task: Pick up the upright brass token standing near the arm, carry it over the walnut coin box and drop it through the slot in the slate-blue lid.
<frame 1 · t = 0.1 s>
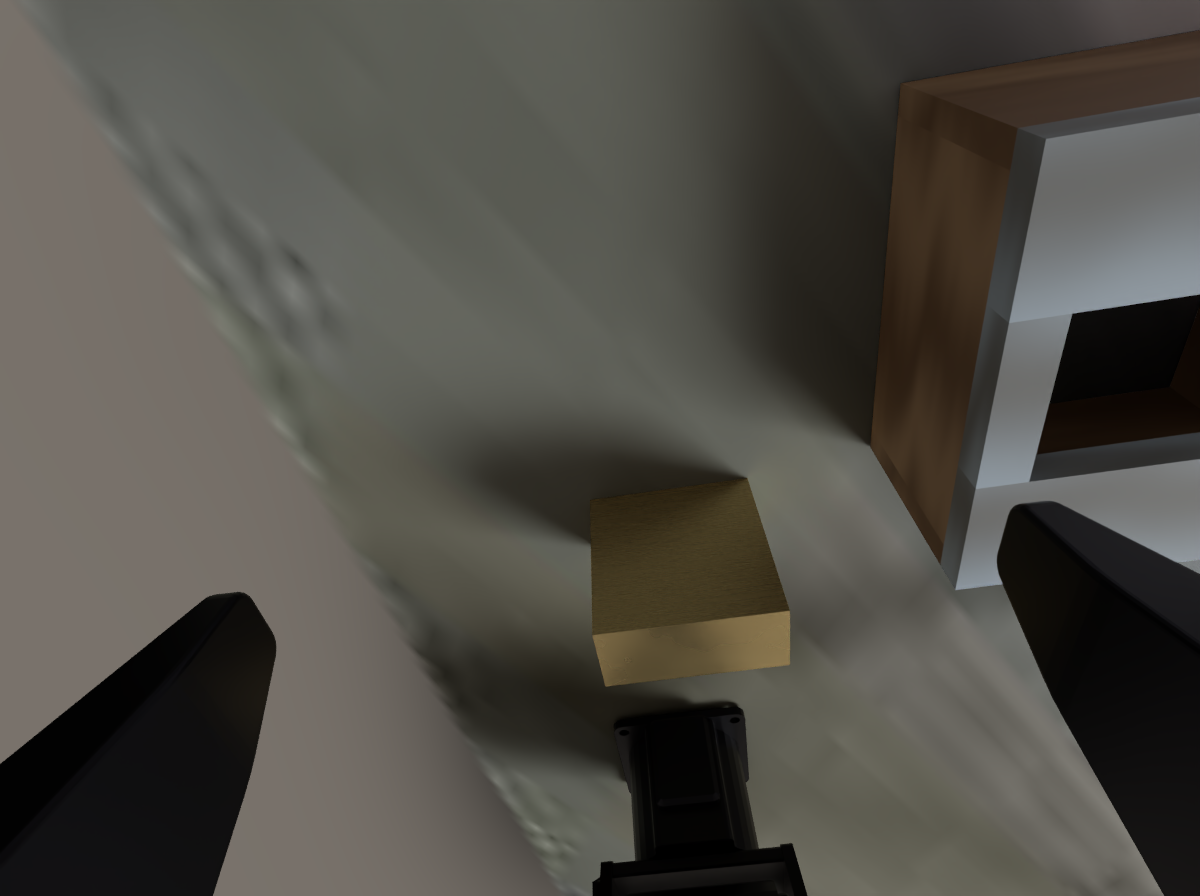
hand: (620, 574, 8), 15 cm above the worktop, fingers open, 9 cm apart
token: (671, 514, 27), on the worktop
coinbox: (1063, 265, 21), on the worktop
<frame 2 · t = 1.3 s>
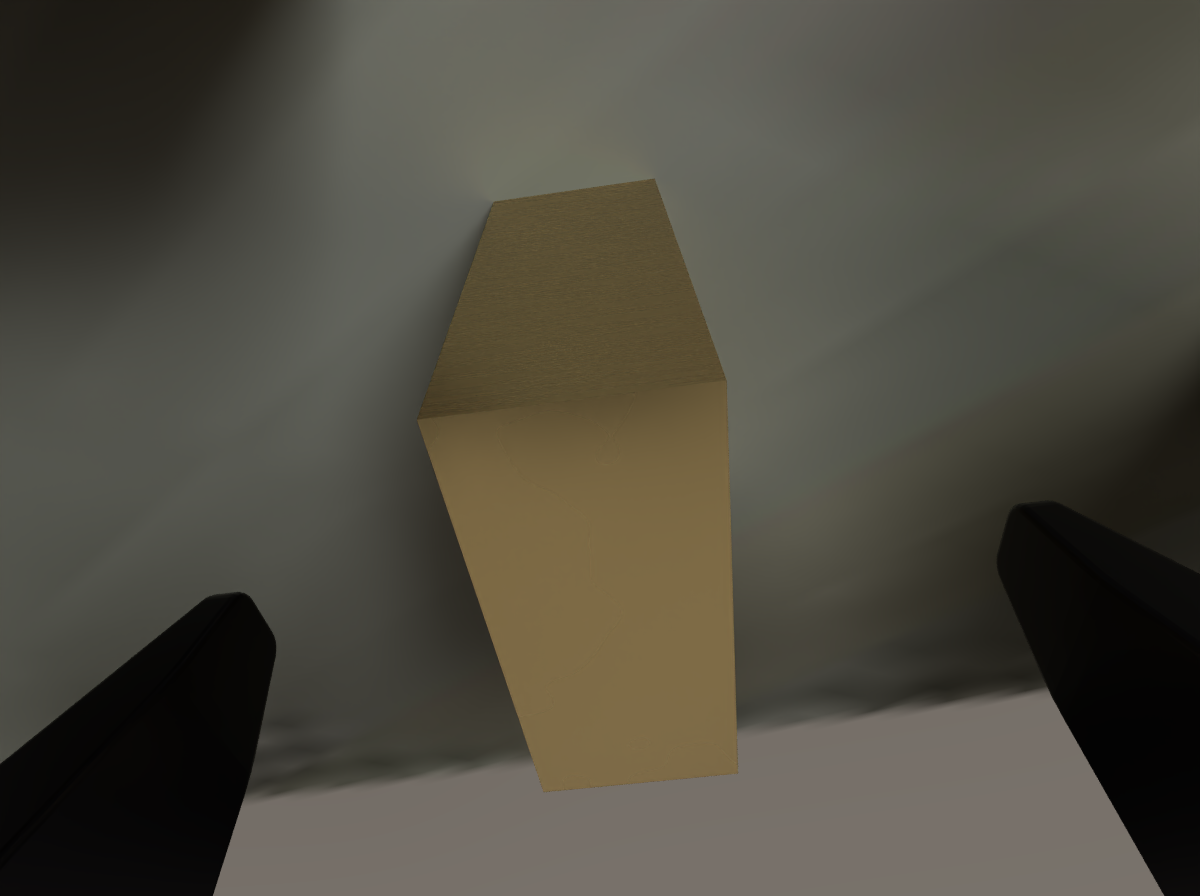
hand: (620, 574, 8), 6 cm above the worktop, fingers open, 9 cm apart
token: (598, 355, 13), on the worktop
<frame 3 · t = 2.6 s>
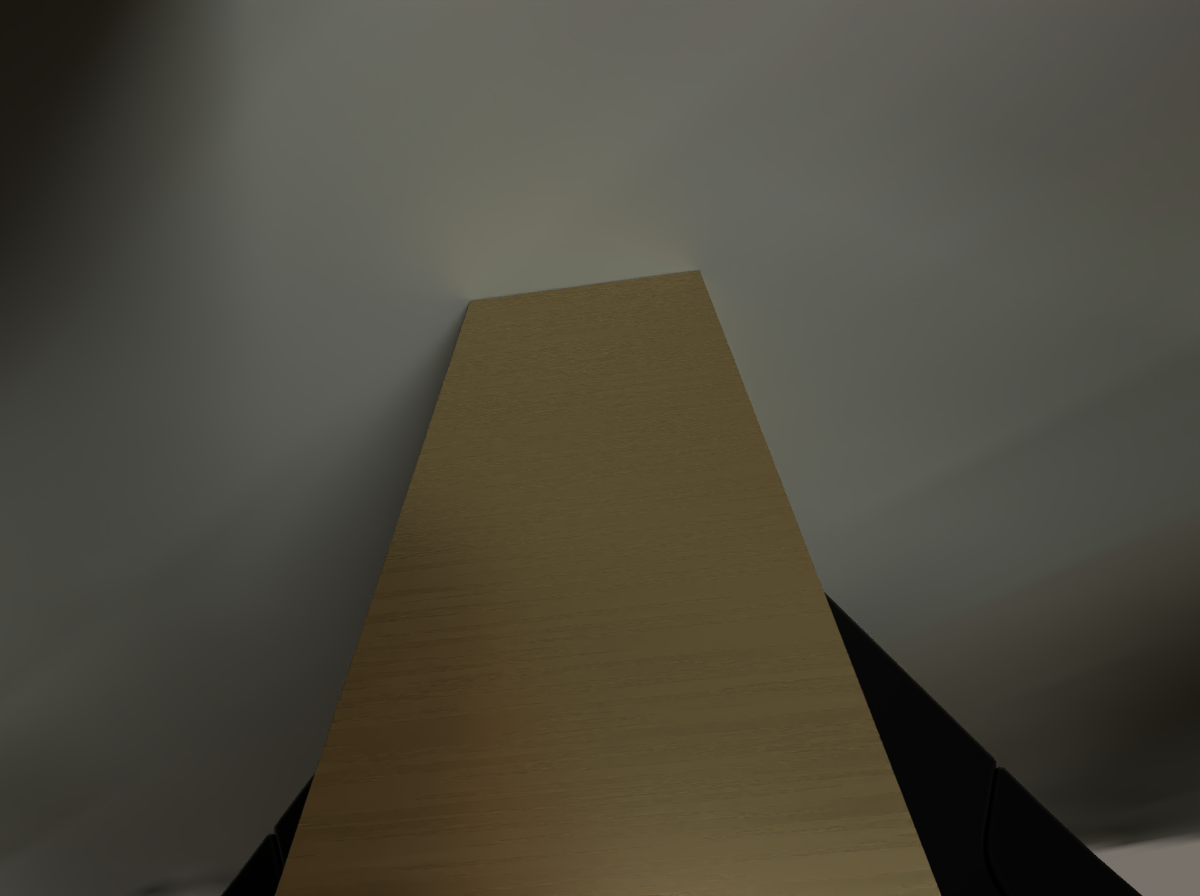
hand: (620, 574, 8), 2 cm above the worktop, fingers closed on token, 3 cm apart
token: (615, 492, 9), on the worktop, touching gripper
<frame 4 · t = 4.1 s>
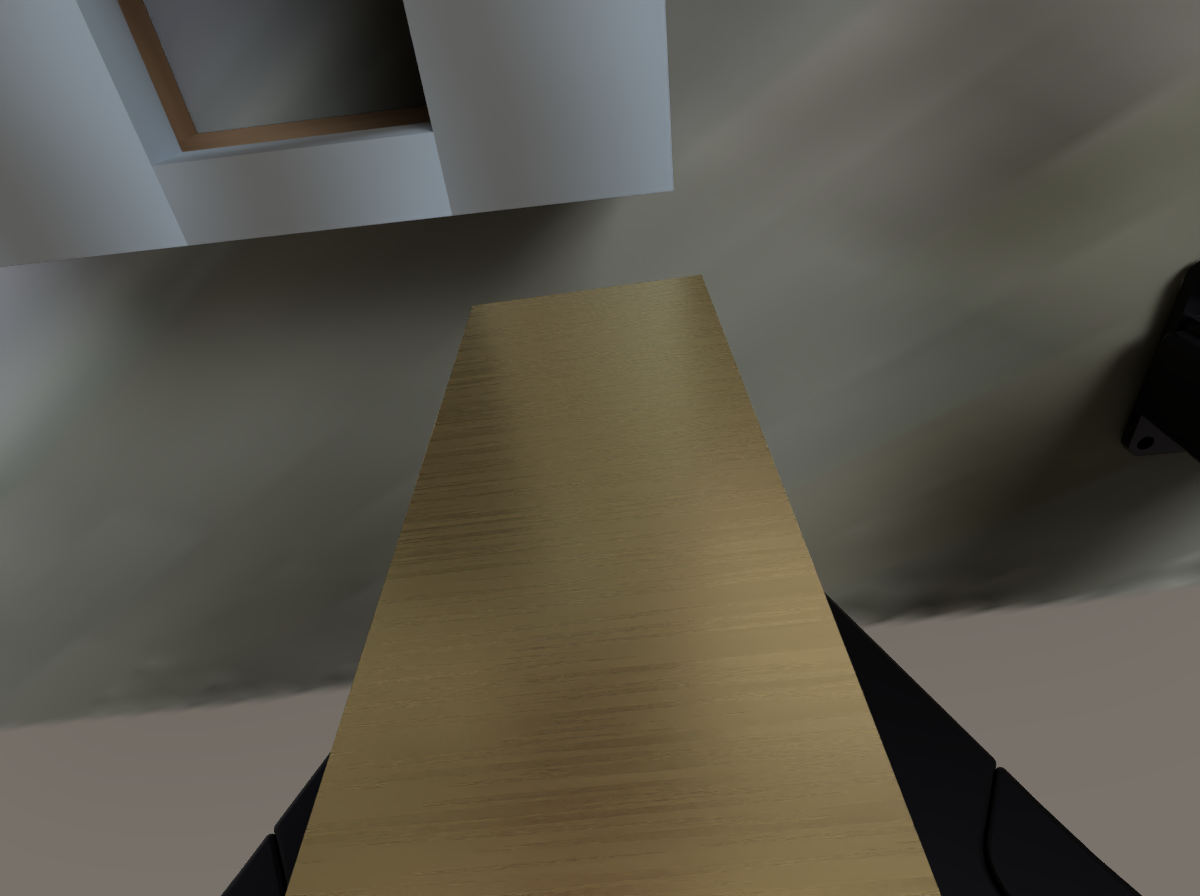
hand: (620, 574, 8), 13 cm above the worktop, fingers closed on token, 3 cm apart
token: (617, 495, 9), point 11 cm above the worktop, touching gripper
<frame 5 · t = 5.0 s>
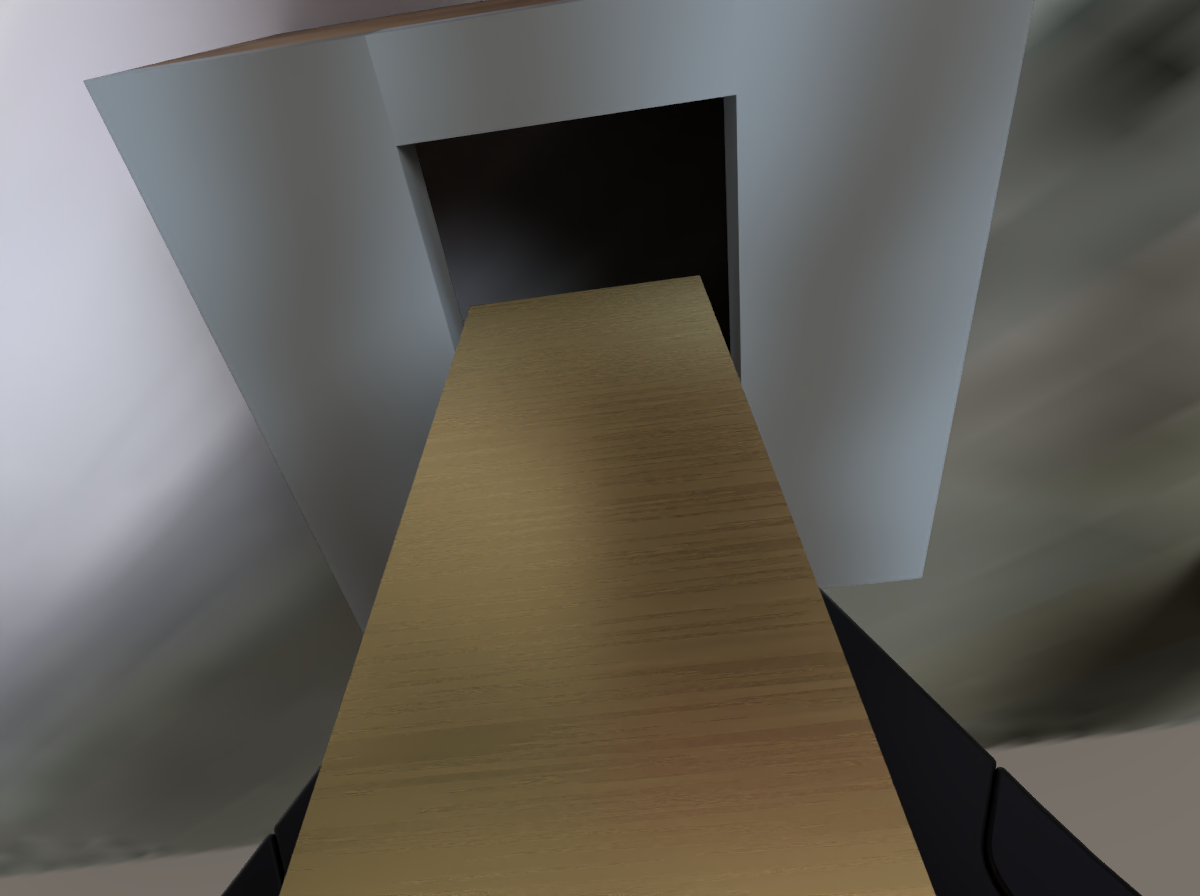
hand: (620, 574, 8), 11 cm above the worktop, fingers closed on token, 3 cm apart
token: (615, 496, 9), point 10 cm above the worktop, touching gripper
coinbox: (596, 248, 17), on the worktop
when the fingers open (7 cm above the worktop, at t = 5.8 s): token drops 6 cm, resting in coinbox.
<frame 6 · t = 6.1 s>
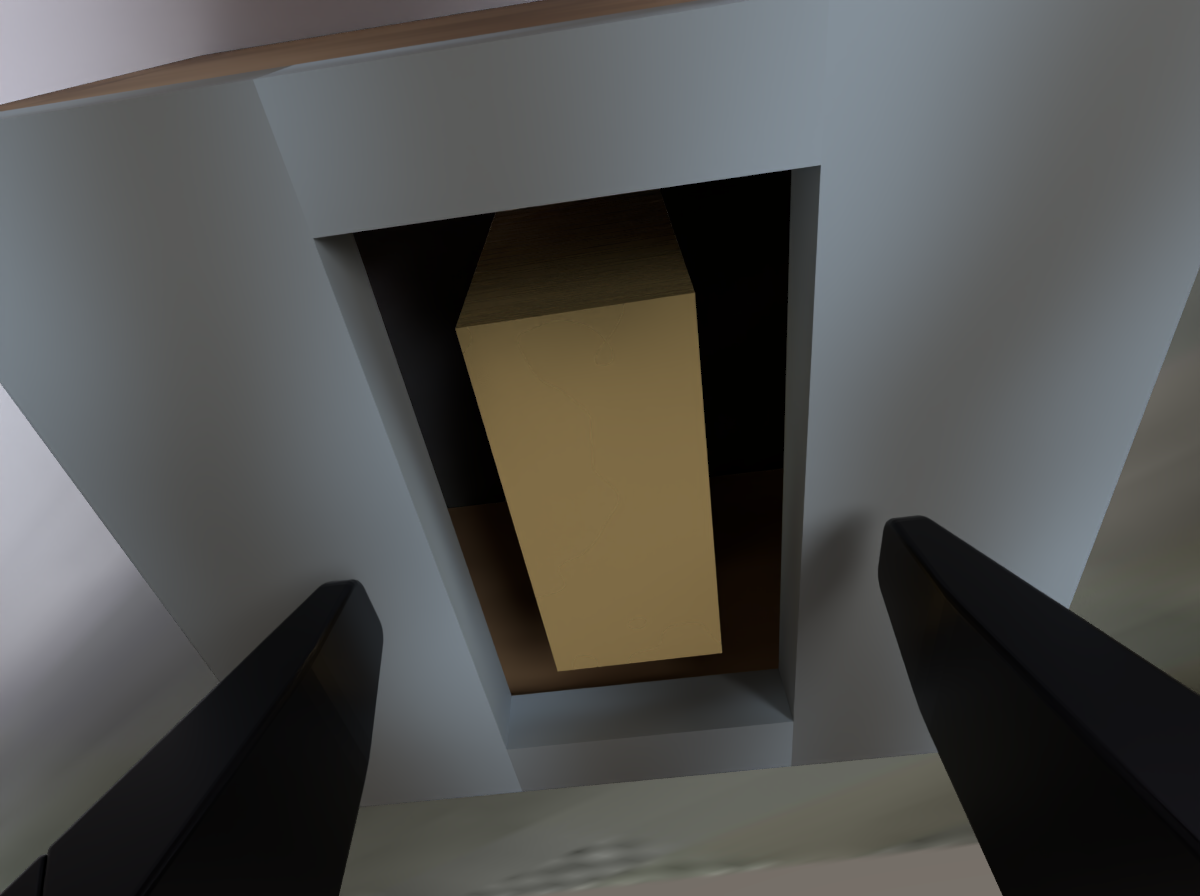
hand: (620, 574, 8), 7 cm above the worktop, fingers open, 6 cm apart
token: (601, 313, 14), resting in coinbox
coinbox: (602, 311, 14), on the worktop
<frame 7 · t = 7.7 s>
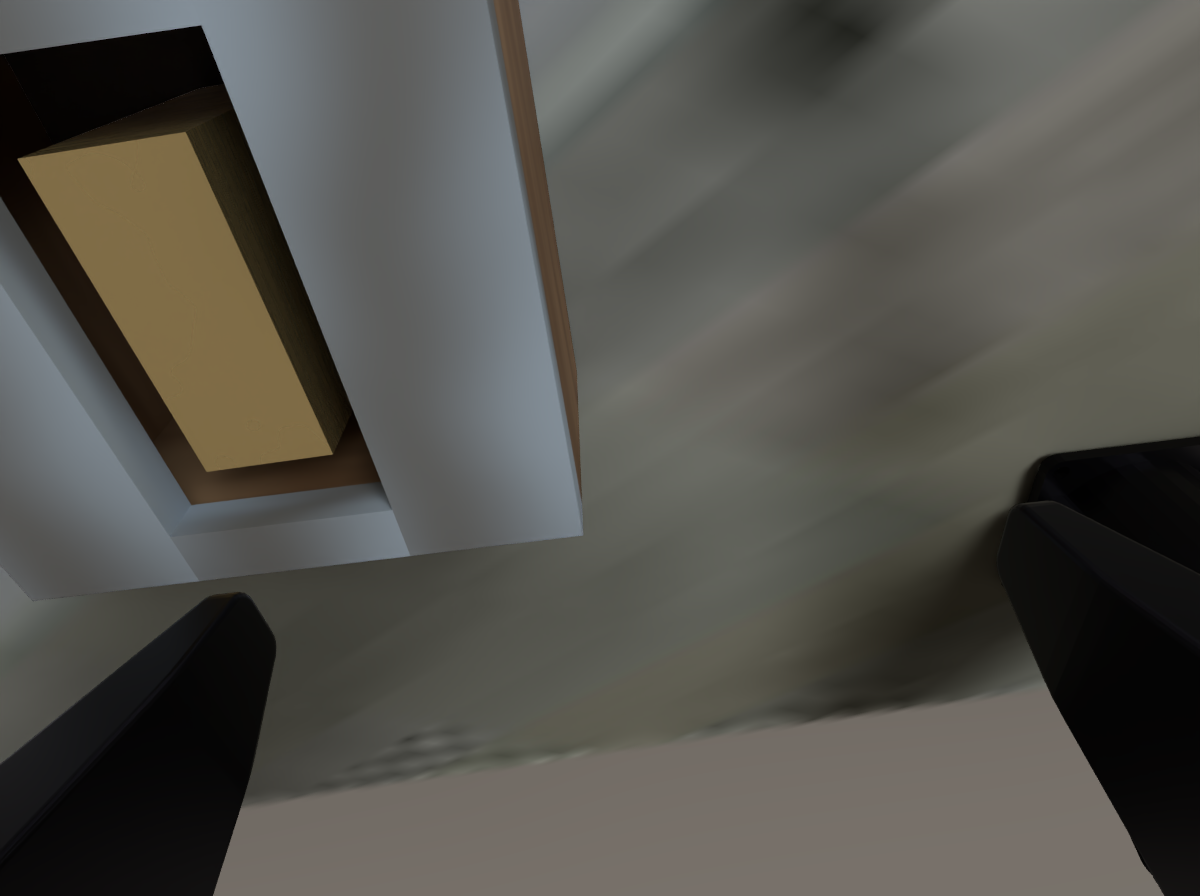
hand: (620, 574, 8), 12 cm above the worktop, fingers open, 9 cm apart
token: (308, 211, 17), resting in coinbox
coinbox: (307, 209, 17), on the worktop
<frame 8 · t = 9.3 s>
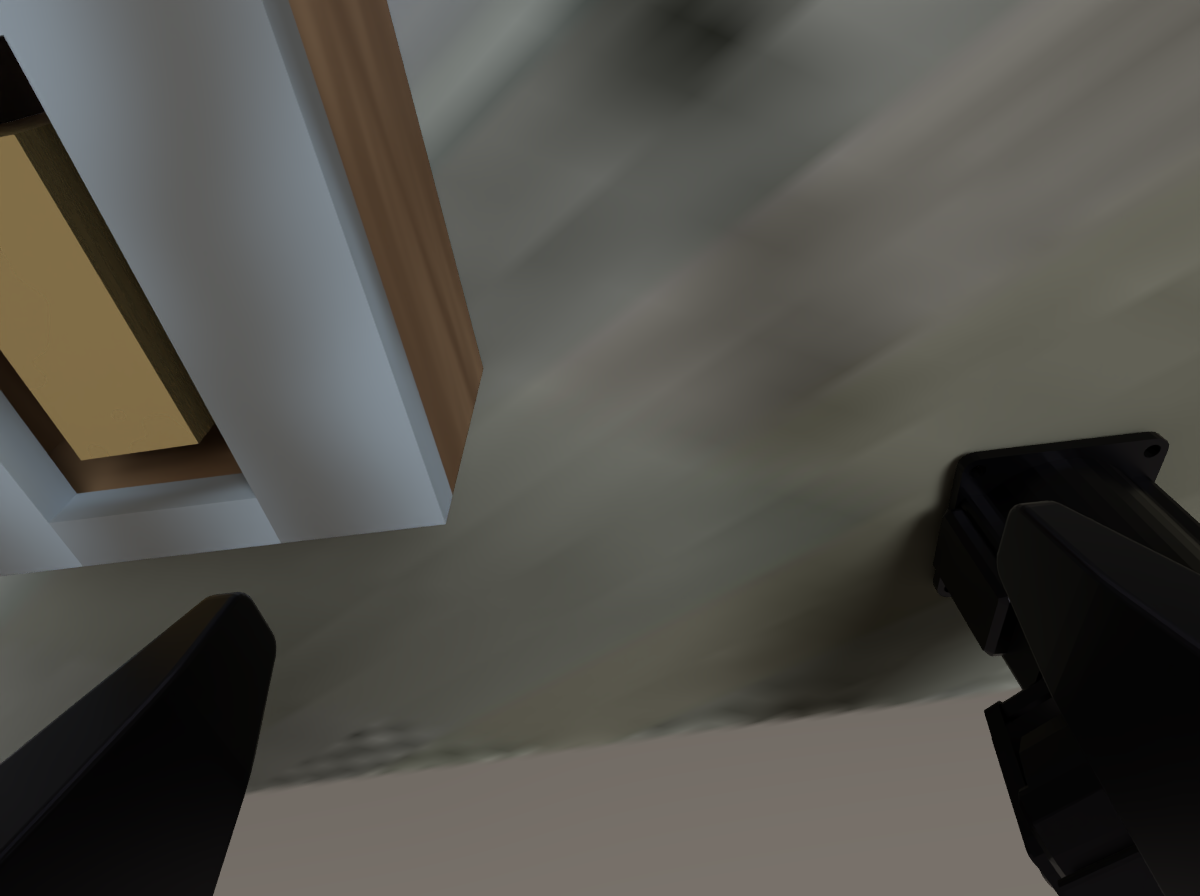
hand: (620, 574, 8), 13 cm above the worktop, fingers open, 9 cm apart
token: (209, 215, 18), resting in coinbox
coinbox: (207, 212, 18), on the worktop
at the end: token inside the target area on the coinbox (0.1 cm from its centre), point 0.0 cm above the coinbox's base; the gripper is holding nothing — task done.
